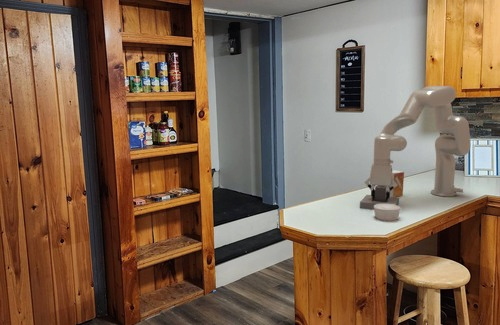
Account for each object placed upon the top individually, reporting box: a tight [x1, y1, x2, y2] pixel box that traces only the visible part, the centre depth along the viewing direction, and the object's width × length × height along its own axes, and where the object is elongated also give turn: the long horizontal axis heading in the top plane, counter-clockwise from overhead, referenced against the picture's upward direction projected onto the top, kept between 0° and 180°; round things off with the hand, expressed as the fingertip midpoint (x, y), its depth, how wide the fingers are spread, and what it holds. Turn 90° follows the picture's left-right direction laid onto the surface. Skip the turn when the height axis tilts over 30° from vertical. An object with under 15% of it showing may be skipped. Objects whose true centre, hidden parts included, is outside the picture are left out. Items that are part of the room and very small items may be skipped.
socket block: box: [359, 194, 400, 211], centre depth 212 cm, size 16×16×3 cm
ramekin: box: [373, 204, 401, 222], centre depth 193 cm, size 11×11×5 cm
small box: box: [385, 169, 405, 198], centre depth 232 cm, size 8×6×13 cm
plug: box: [374, 185, 386, 202], centre depth 212 cm, size 5×5×9 cm
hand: (380, 198), depth 212 cm, fingers open, 5 cm apart
